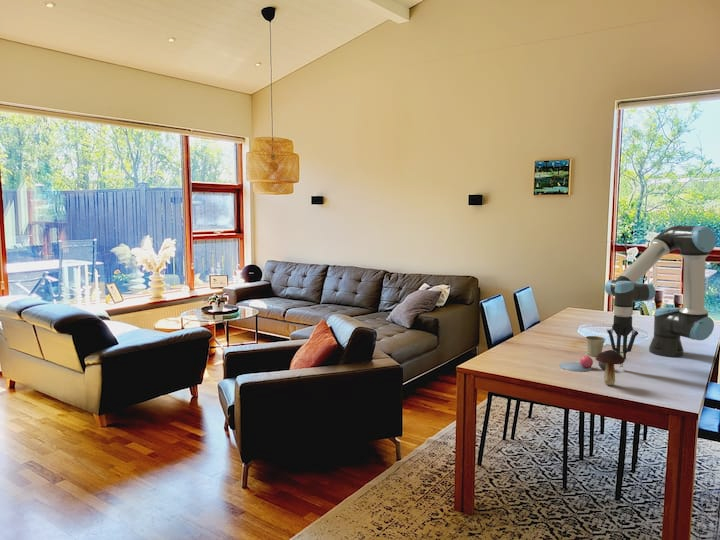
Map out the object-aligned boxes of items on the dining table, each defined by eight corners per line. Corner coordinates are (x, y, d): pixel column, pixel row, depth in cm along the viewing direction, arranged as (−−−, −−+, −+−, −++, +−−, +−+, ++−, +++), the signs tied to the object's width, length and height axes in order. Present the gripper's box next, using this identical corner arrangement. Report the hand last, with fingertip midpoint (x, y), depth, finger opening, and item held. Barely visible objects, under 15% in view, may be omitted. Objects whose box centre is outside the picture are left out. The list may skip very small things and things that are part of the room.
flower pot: (603, 352, 269) (603, 336, 268) (606, 358, 260) (607, 340, 259) (583, 351, 271) (583, 335, 270) (585, 356, 262) (586, 339, 261)
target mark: (590, 363, 251) (590, 363, 251) (593, 372, 237) (593, 372, 237) (558, 361, 255) (558, 361, 255) (560, 370, 241) (560, 369, 241)
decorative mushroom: (615, 391, 214) (616, 355, 212) (589, 384, 222) (591, 349, 221) (628, 385, 220) (630, 350, 218) (603, 379, 229) (605, 345, 227)
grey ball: (597, 356, 245) (597, 367, 245) (599, 359, 239) (600, 371, 240) (610, 355, 243) (610, 367, 244) (612, 359, 238) (613, 371, 239)
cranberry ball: (594, 360, 246) (585, 352, 247) (596, 363, 241) (586, 355, 242) (586, 368, 247) (576, 360, 248) (587, 371, 242) (578, 363, 243)
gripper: (608, 316, 236) (606, 367, 239) (640, 317, 232) (638, 369, 235) (606, 313, 243) (603, 362, 246) (637, 314, 239) (634, 364, 242)
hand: (620, 366), depth 240 cm, fingers closed
